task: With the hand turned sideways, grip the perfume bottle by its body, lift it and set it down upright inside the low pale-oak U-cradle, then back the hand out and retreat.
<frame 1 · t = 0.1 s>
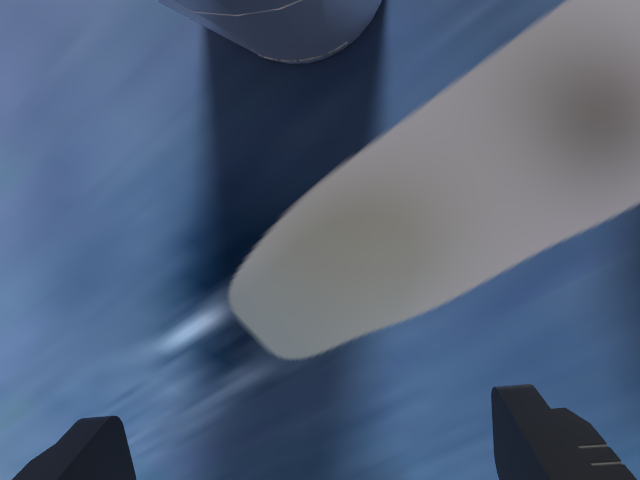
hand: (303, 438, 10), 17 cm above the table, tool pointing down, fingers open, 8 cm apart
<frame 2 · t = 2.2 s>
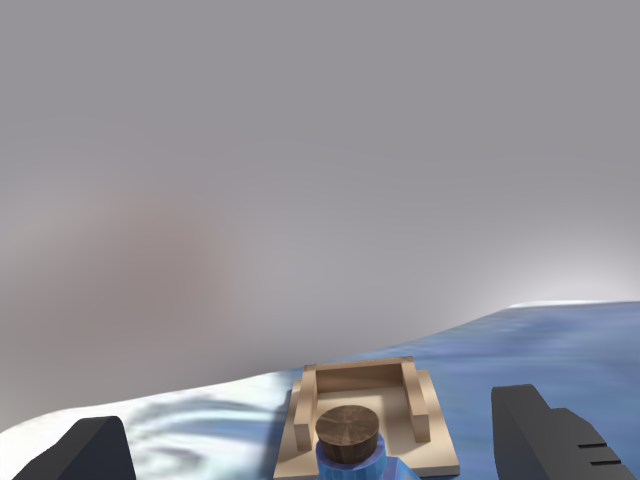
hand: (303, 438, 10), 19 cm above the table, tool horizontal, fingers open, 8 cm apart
u cradle: (362, 423, 41), on the table
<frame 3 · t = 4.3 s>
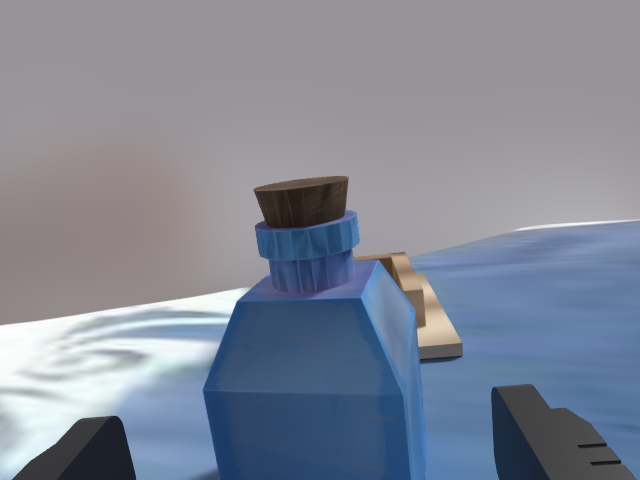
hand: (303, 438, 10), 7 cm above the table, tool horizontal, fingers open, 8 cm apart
u cradle: (344, 320, 34), on the table
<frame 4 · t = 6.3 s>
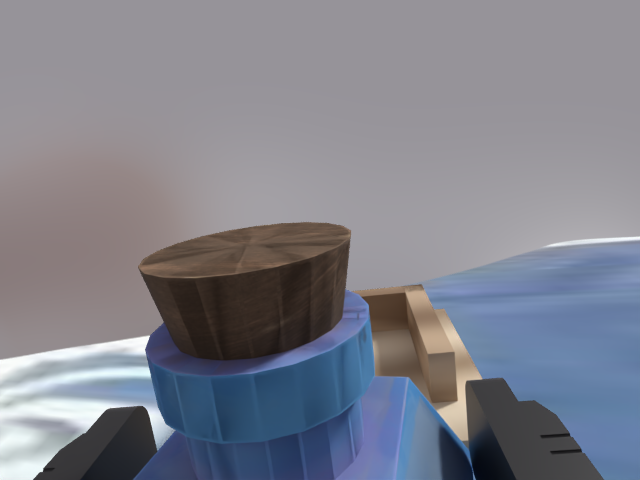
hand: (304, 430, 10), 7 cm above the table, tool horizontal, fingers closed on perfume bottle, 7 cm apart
u cradle: (344, 379, 26), on the table
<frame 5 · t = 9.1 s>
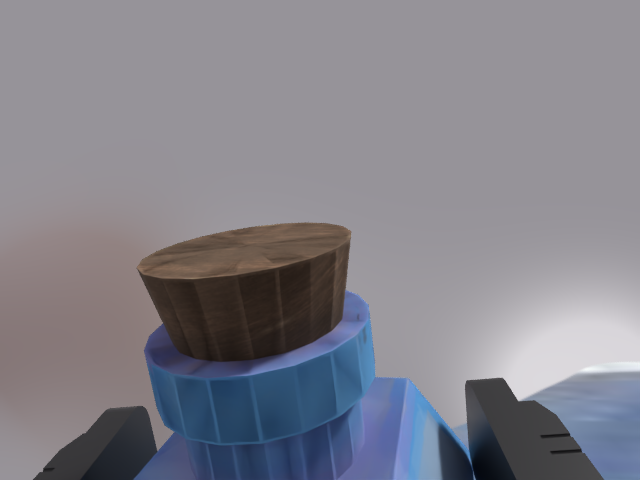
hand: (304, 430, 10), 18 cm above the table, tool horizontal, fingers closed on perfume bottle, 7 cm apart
when the fingers open (9 cm above the table, at t = 12.3 s): perfume bottle drops 1 cm, resting on u cradle.
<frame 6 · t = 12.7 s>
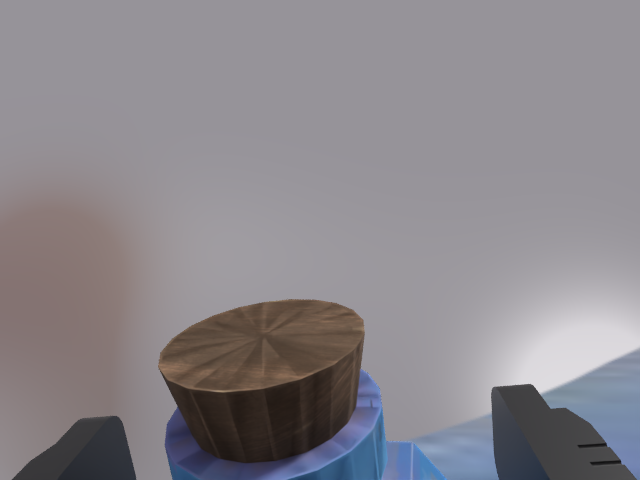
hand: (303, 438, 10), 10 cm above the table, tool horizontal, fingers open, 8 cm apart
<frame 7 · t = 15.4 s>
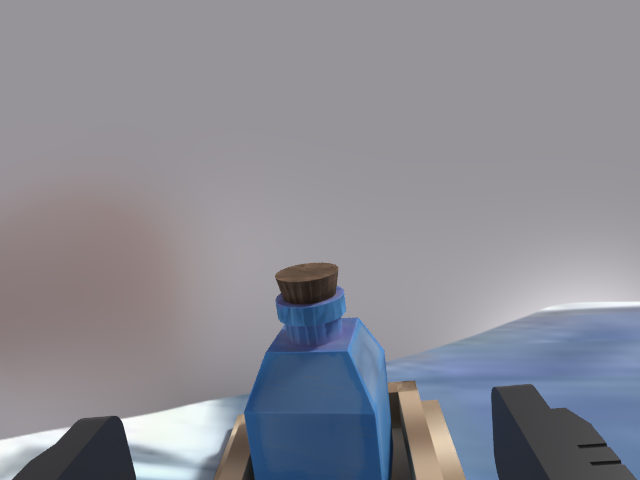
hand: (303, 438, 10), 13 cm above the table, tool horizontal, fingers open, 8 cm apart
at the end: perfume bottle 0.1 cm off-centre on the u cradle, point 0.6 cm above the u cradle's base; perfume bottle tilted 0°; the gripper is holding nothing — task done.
